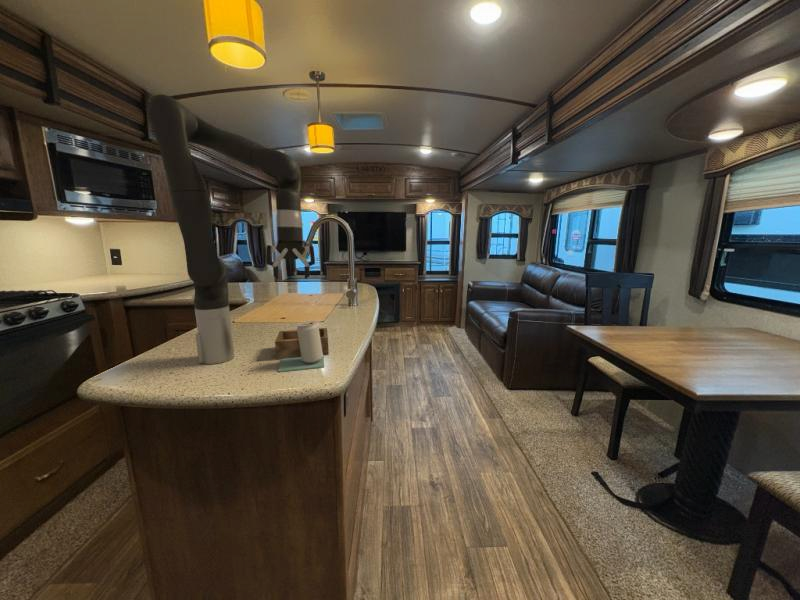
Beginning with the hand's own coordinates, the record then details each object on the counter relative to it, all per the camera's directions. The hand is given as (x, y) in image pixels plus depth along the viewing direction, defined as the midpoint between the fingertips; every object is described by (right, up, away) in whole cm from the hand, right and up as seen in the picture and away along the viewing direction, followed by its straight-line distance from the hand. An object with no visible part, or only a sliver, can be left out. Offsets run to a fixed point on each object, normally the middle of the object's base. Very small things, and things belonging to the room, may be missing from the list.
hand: (292, 278), depth 97 cm
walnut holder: (+1, -24, +9) cm, 26 cm away
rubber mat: (+4, -26, -2) cm, 27 cm away
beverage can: (+7, -26, -1) cm, 27 cm away
